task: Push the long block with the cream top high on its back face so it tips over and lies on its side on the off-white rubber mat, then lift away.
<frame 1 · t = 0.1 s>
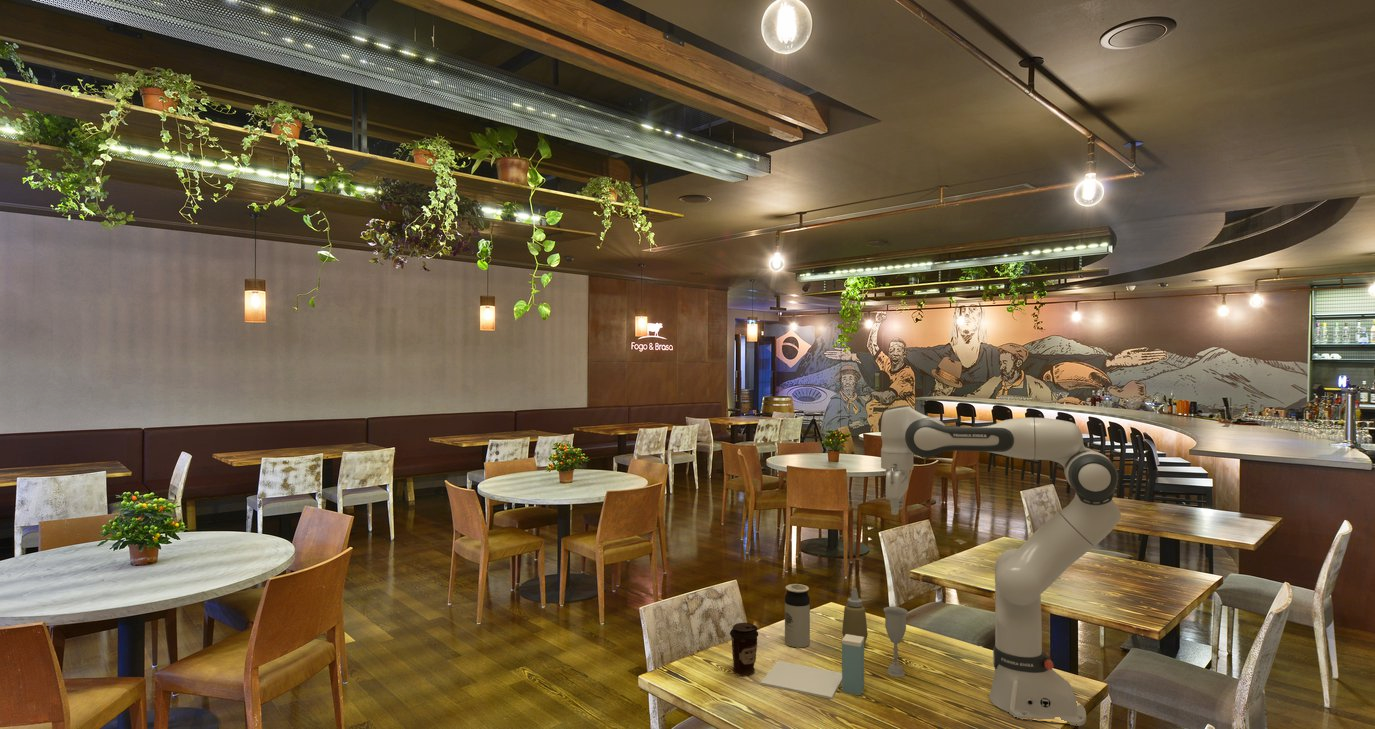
hand: (897, 511, 192), 48 cm above the table, fingers open, 8 cm apart
travel mug: (797, 644, 218), on the table
chalice: (895, 673, 197), on the table
squeeze bottle: (854, 645, 218), on the table
long block: (853, 689, 186), on the table
coffee cup: (744, 672, 197), on the table
mat: (803, 679, 192), on the table
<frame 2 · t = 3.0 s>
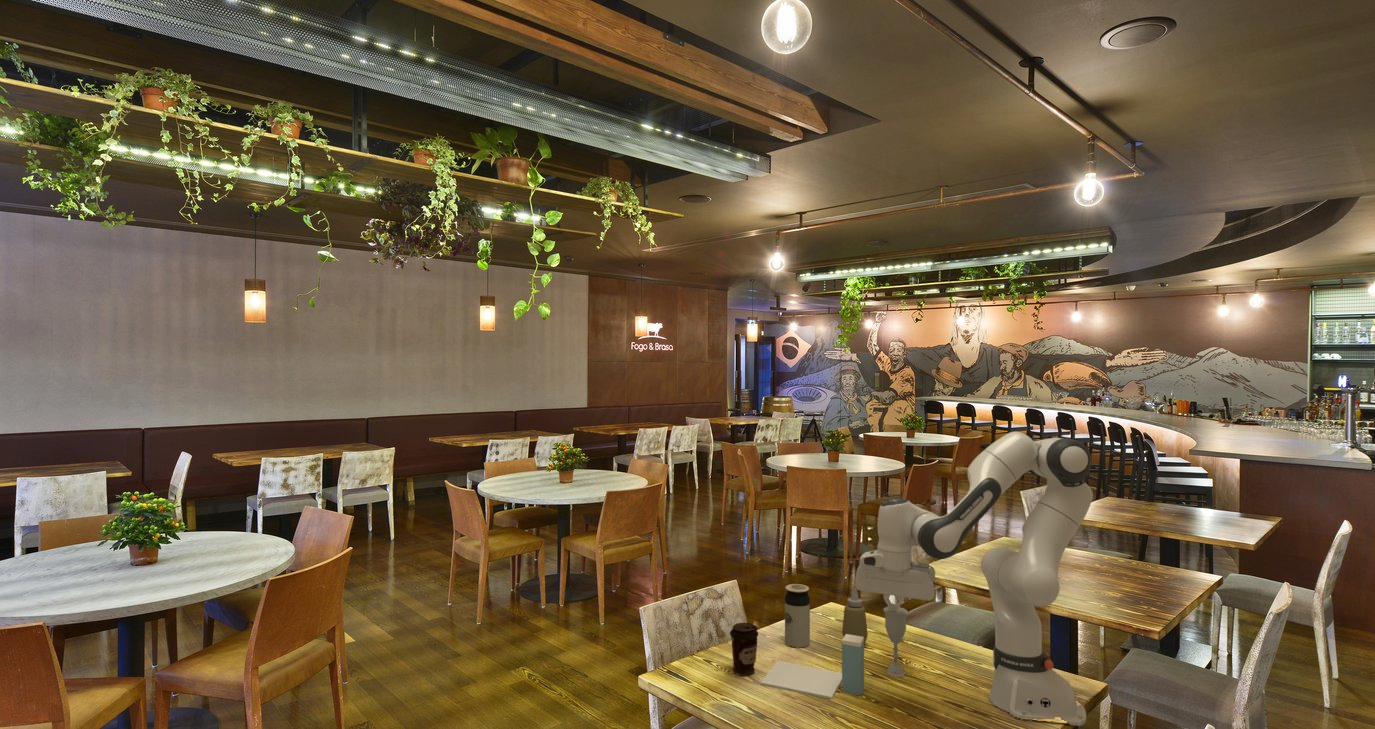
hand: (893, 611, 182), 23 cm above the table, fingers closed
nothing on the table moved.
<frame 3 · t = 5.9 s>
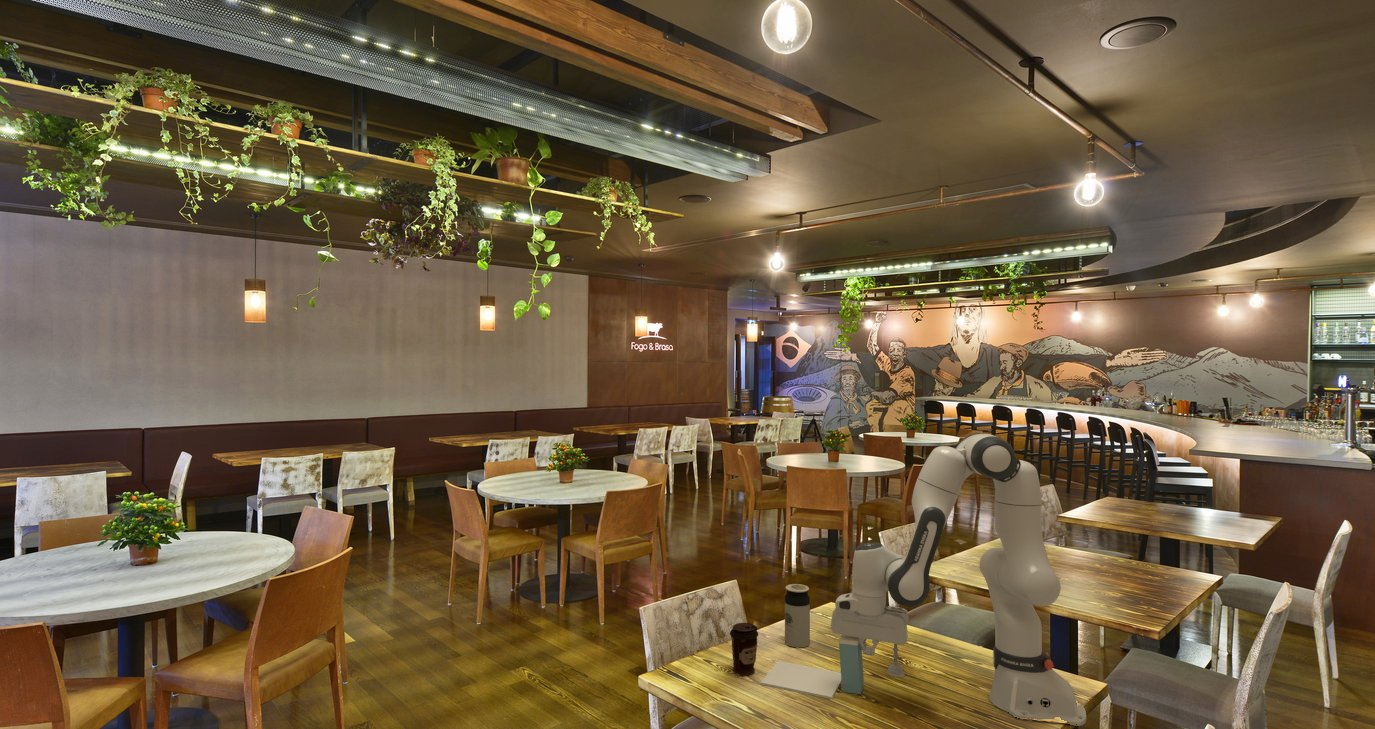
hand: (868, 654, 184), 10 cm above the table, fingers closed
nothing on the table moved.
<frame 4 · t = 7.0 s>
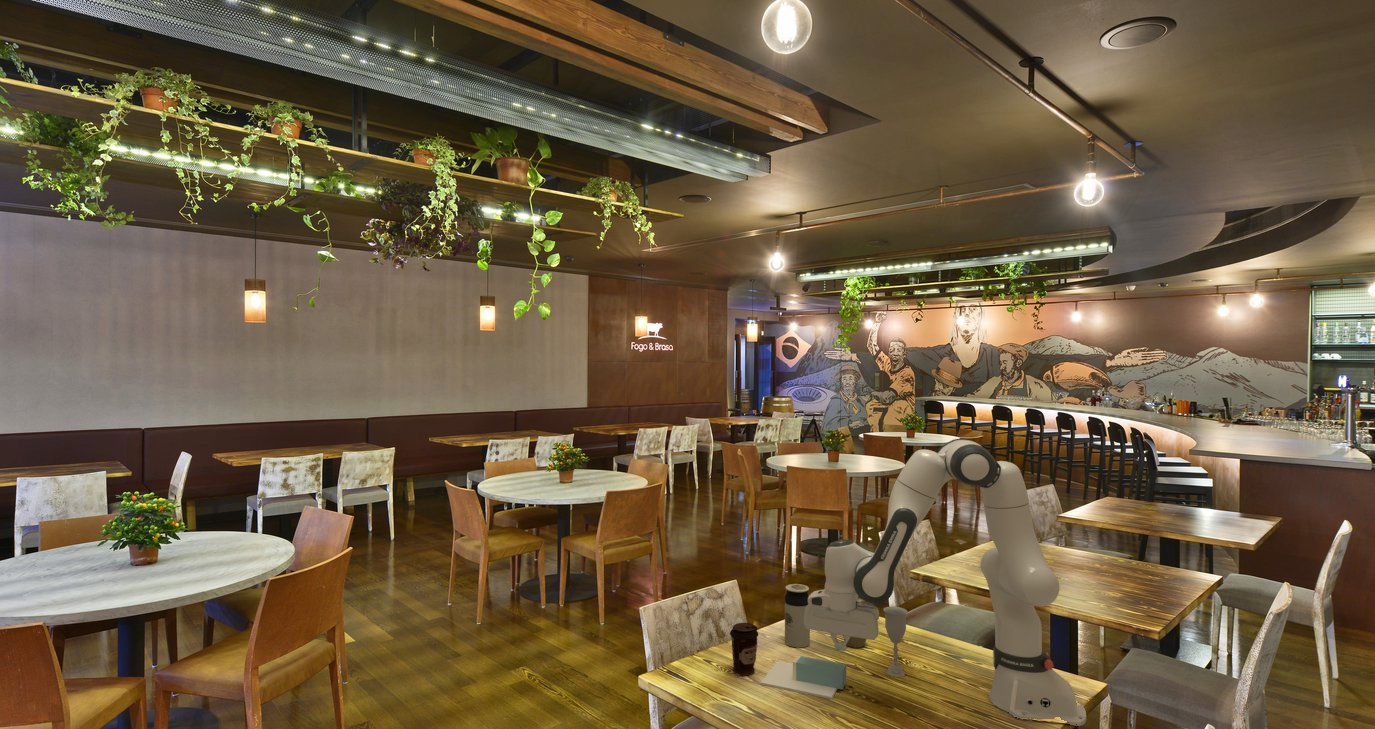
hand: (840, 649, 188), 10 cm above the table, fingers closed
long block: (844, 676, 187), point 3 cm above the table, tilted 90°, touching mat
everything else where it was.
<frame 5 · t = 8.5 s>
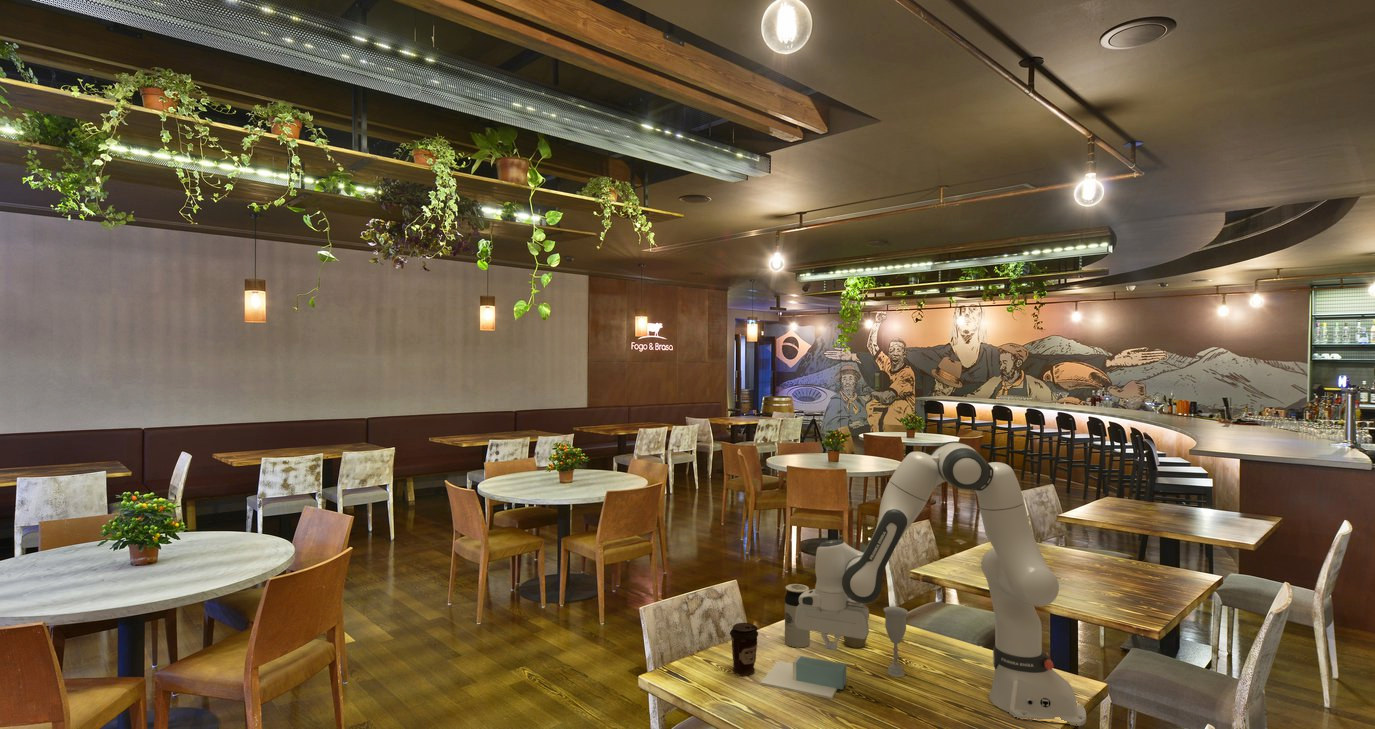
hand: (831, 648, 189), 10 cm above the table, fingers closed
nothing on the table moved.
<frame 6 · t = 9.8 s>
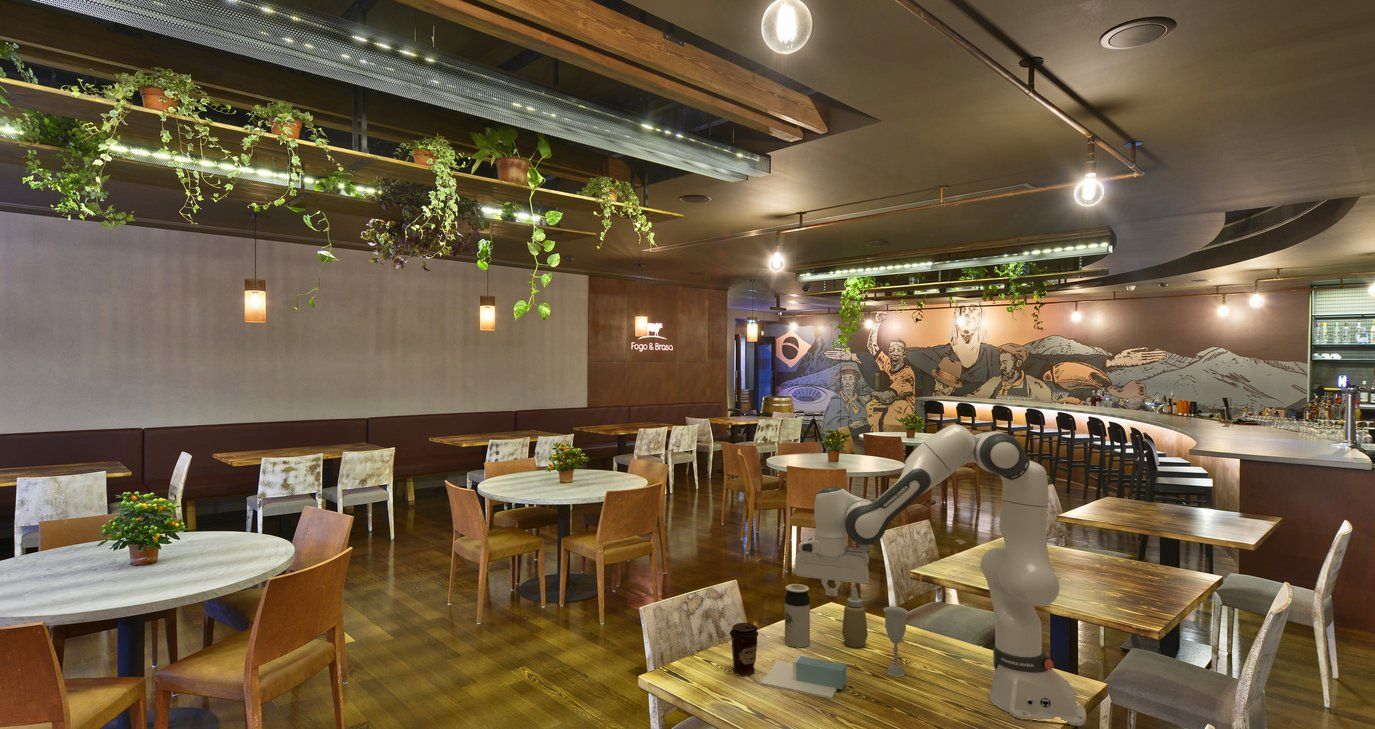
hand: (831, 595, 189), 25 cm above the table, fingers closed
nothing on the table moved.
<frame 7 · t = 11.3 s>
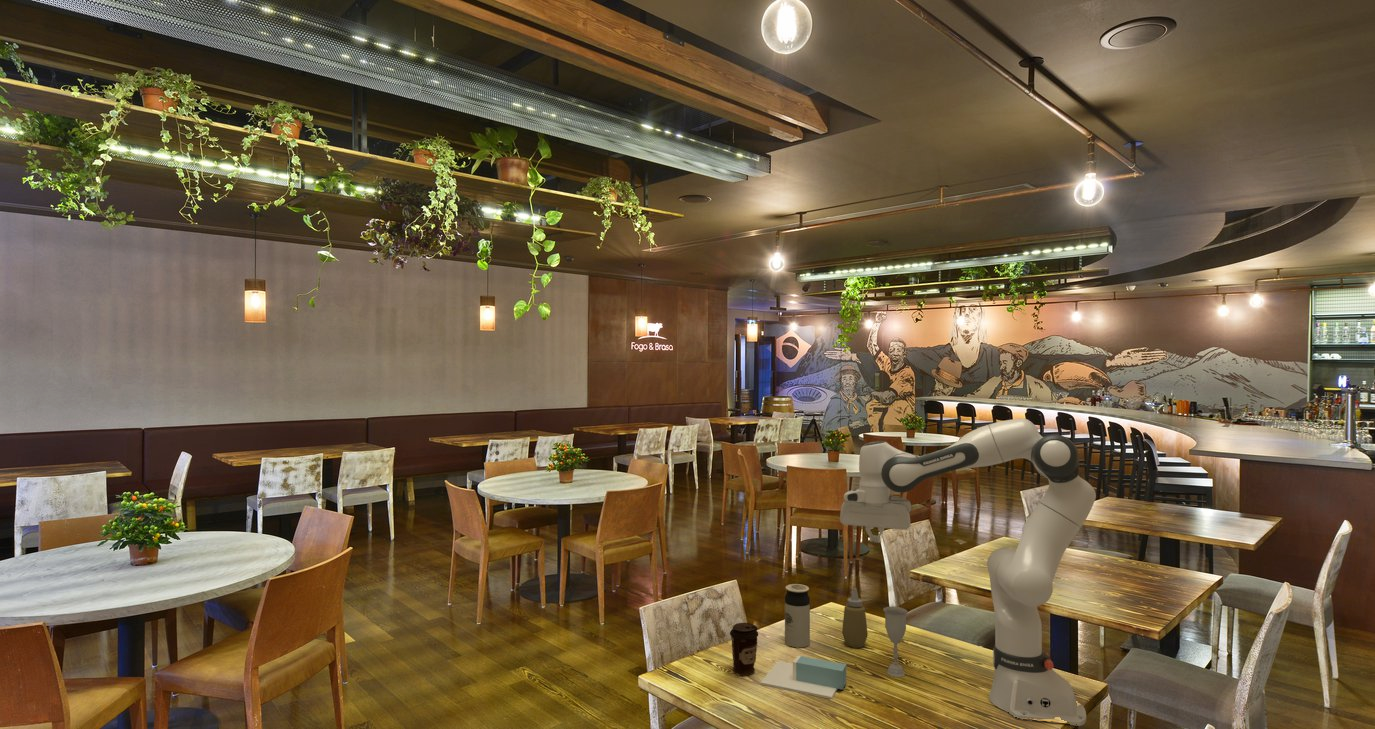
hand: (875, 541, 202), 37 cm above the table, fingers closed
nothing on the table moved.
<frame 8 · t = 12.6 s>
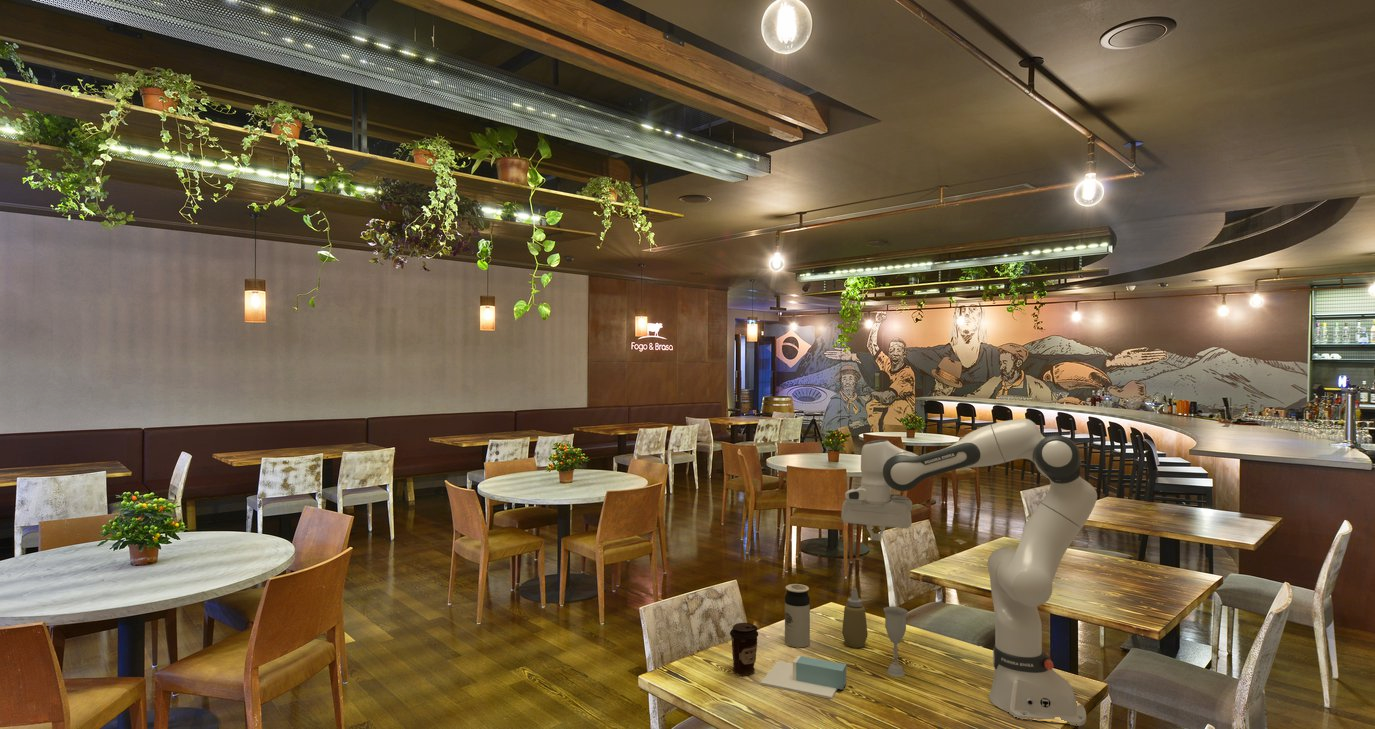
hand: (875, 540, 203), 37 cm above the table, fingers closed
nothing on the table moved.
at the end: long block tilted 90°; long block inside the target area (7.1 cm from its centre), point 3.1 cm above the table; long block touching mat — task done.
